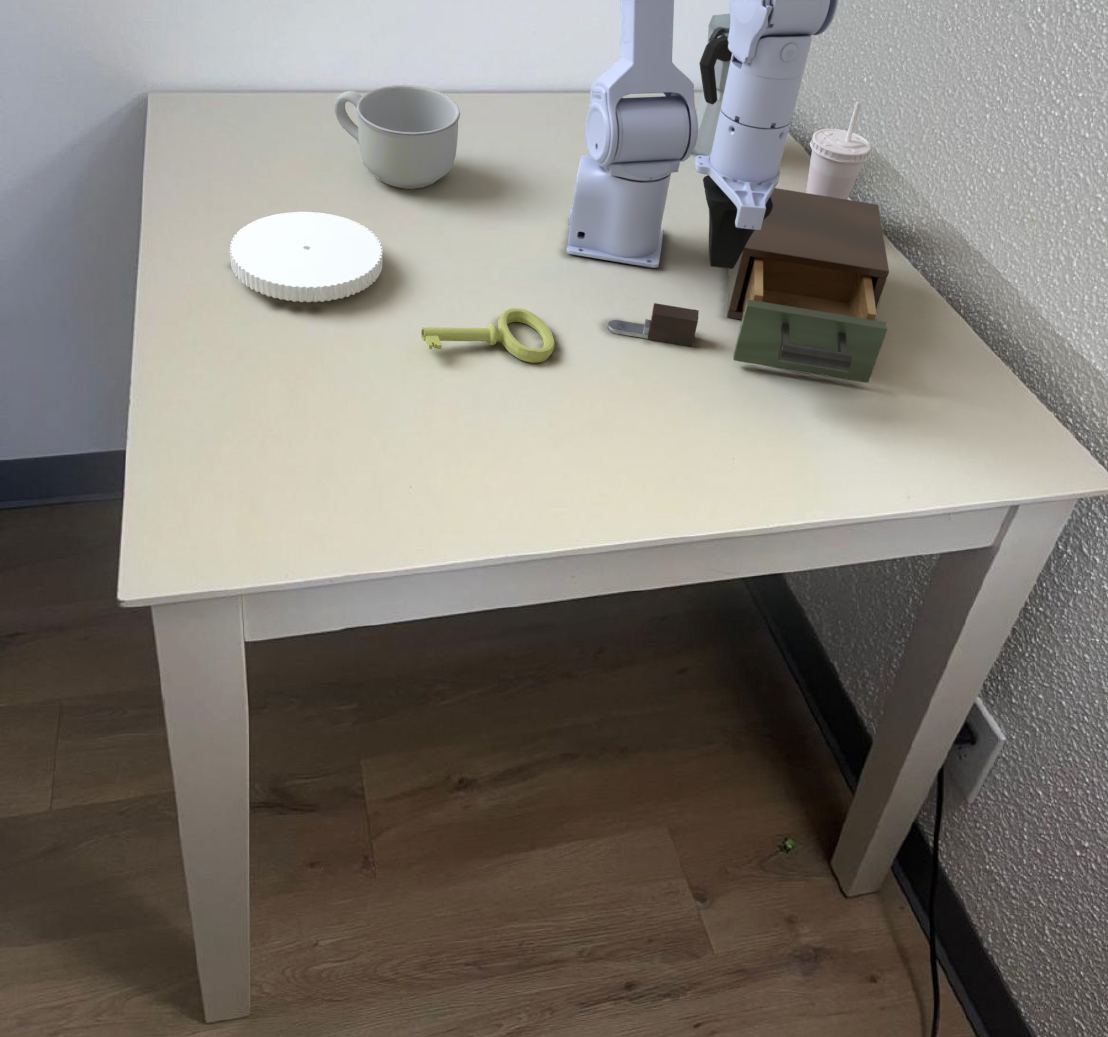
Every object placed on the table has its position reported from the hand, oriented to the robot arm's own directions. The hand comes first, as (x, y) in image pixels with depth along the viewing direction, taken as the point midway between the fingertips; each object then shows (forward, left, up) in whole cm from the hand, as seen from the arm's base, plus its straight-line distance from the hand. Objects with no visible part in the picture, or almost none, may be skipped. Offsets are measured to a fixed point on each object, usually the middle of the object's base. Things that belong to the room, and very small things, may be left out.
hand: (721, 263), depth 102 cm
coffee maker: (0, +44, -9) cm, 45 cm away
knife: (-5, +1, -9) cm, 10 cm away
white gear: (-38, +2, -9) cm, 39 cm away
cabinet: (+9, +13, -9) cm, 18 cm away
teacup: (-35, +25, -9) cm, 44 cm away
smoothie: (+12, +29, -9) cm, 33 cm away
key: (-19, -5, -9) cm, 22 cm away
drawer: (+9, +2, -8) cm, 12 cm away
